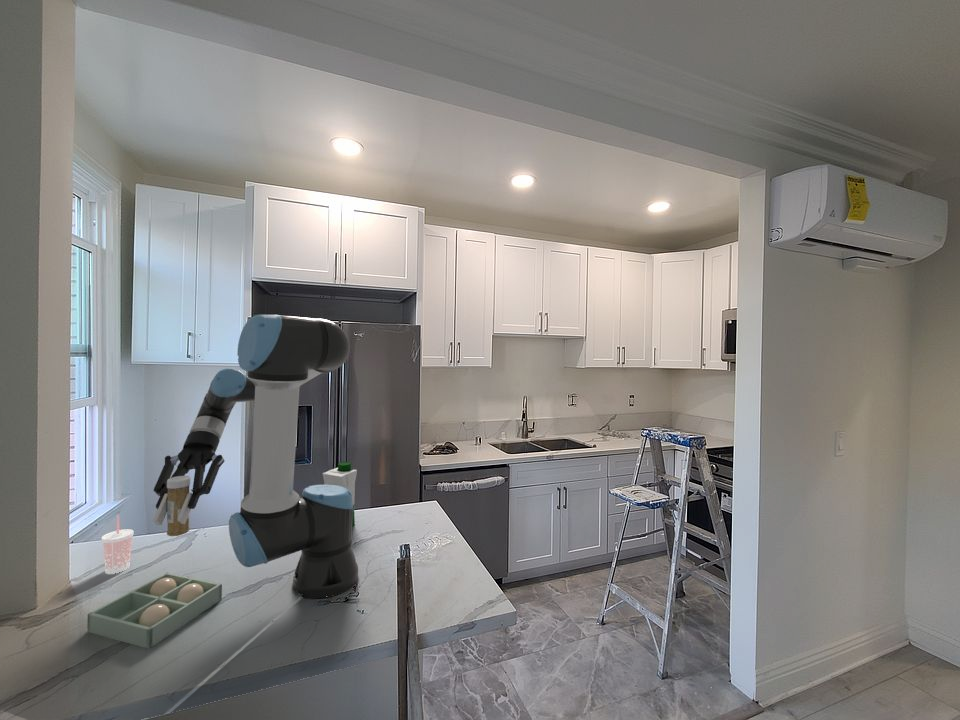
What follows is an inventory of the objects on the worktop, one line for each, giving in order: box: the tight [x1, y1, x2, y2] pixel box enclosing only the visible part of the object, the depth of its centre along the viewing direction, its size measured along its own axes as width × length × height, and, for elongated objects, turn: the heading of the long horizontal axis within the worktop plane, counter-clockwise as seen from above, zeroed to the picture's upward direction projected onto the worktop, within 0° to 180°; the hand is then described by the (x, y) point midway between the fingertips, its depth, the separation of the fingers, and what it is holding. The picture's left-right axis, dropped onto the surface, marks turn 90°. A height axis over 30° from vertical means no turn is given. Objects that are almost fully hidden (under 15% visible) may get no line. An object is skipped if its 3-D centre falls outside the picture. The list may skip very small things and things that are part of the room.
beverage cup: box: [101, 514, 135, 575], centre depth 103 cm, size 6×6×14 cm
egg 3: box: [177, 583, 204, 603], centre depth 88 cm, size 5×5×5 cm
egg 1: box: [149, 578, 177, 597], centre depth 90 cm, size 5×5×5 cm
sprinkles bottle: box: [166, 475, 191, 537], centre depth 99 cm, size 5×5×13 cm
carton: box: [86, 572, 223, 649], centre depth 86 cm, size 16×16×4 cm
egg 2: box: [139, 604, 170, 627], centre depth 81 cm, size 5×5×5 cm
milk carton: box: [322, 461, 358, 526], centre depth 131 cm, size 9×9×20 cm
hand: (169, 522), depth 95 cm, fingers closed on sprinkles bottle, 4 cm apart
